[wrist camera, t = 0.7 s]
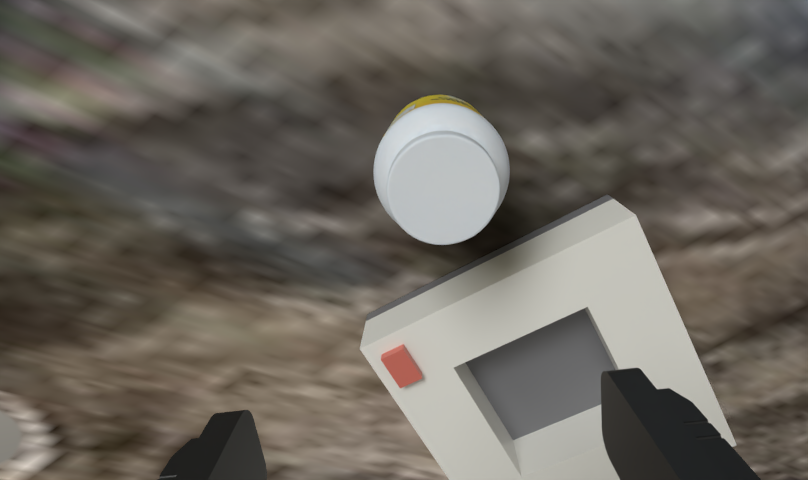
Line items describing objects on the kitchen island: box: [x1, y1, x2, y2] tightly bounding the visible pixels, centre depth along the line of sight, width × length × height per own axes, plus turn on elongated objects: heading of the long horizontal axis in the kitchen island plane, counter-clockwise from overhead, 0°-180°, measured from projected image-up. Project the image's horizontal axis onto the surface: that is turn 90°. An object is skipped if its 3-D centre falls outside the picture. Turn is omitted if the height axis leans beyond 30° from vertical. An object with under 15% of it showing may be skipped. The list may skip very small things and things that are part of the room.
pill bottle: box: [374, 95, 510, 245], centre depth 26 cm, size 6×6×12 cm
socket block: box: [360, 195, 736, 480], centre depth 33 cm, size 18×18×5 cm
